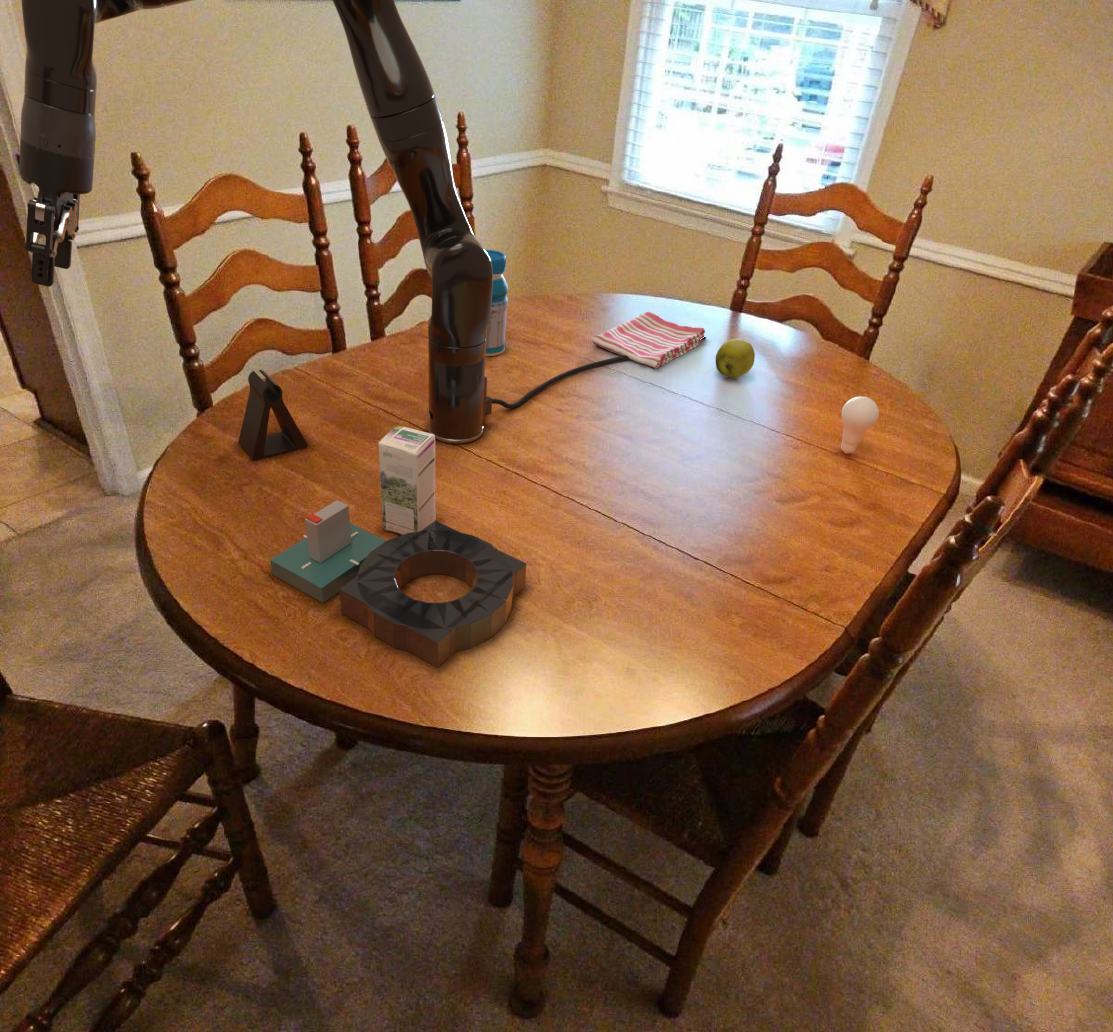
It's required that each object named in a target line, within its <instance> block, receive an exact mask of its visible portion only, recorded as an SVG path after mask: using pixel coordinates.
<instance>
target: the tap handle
mask: <svg viewBox="0 0 1113 1032" xmlns="http://www.w3.org/2000/svg"><path fill="white" fill-rule="evenodd" d="M350 523H351V520H350V508H349V505H348V504H346V503H344V502H342V501H340V500H338V499H336V500H335V501H333V502H331V503H329V504H328V505H326V506H325V507H323V508H321V509H320V510H317V511H316V512H315V513H311V514H310V515H308V516H306V518H304V524H305V525H304V526H305V533H306V534H305V535H306V536H307V542H308V551H309V557H310V558H312V559H314V560H315V561H317V562H319V563H321V562H323V561H325V560H326V559H328V558H329V557H331V556H332V555H334V554H335V553H337V552H338V551H340V550H341V549H343V548H344V547H346V546H347V545H349V544H350V543H351V531H350Z"/></svg>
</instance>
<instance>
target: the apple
mask: <svg viewBox="0 0 1113 1032" xmlns="http://www.w3.org/2000/svg"><path fill="white" fill-rule="evenodd" d="M755 354H756V353H755V349H754V347H753V345H752V344H751V343H750V342H749V341H747V340H745V339H742V338H732V339H728V340H726V341H725V342H723V344H722V345H720V347H719V349H717V352H716V355H715V366H716V370H717V371H718V372H719V374H720V375H722V376H723V377H726V378H732V379H734V378H739V377H742V376H744V375H746V374H748V372H750V371H751V369H752V368H753V366H754V364H755V357H756V355H755Z"/></svg>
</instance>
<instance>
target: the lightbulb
mask: <svg viewBox="0 0 1113 1032" xmlns="http://www.w3.org/2000/svg"><path fill="white" fill-rule="evenodd" d="M879 415H880V410H879V407H878V405H877V402H875V401H874V400H873V399H871V398H870V397H868V396H855V397H853V398H852V397H851V398H850V399H849V400H848V401H846V402H845V404H844V405H843V407H842V409H841V421H842V425H843V432H842V436H841V439H842V440H841V444H840V450H841V451H842V452H843V453H844V454H845V455H849V454H853V453H855V451H856V449H857V447H858V444H859V443H861V440H862V438H863V437H864V435H865V434H866V433H867V432H868V431H869V430H871V428H873V427H874V426H875V425H876V423H877V422H878V420H879V417H880V416H879Z"/></svg>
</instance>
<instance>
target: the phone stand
mask: <svg viewBox="0 0 1113 1032" xmlns="http://www.w3.org/2000/svg"><path fill="white" fill-rule="evenodd" d="M258 372H259V373H260V374H261V375H262V376H263V377H264V378H265V380H264V379H263V378H262V377H261V376H260V375H259V374H257V372H256V371H255V370H252V371H251V372H250V373H249V375H248V377H247V381H248V384H249V393H248V397H247V402H246V406H245V411H244V416H243V420H242V424H241V429H240V433H239V437H238V445H240V447H241V448H242V450H243V451H244V452H245V453H246V454H247V455H248V457H249V458H250V459H251V461H253V462H256V461H260V460H265V459H268V458H271V457H276V456H278V455H280V454H282V455H283V454H286V453H290V452H295V451H299V450H302V449H306V448H308V446H309V445H308V443H307V441H306V439H305V438H304V436H303V434H302V432H301V431H300V428H299V426H298V425H297V423H296V422H295V420H294V418H293V416H292V415H291V412H290V411H289V409H288V408H287V406H286V404H285V401H284V399H283V388H281V386H280V385H279V384H278V383H277V382H275V380H274V379H273V378H272V377H271V376H270V375H268V373H267V372H266V371H264V370H263V369H259V370H258ZM271 410H272V412H273V415H274V417H275V419H276V421H277V424H278V426H279V428H280V430H281V431H280V432H276V433H272V434H268V426H269V422H270V421H269V420H270V413H271ZM267 434H268V435H267Z"/></svg>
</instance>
